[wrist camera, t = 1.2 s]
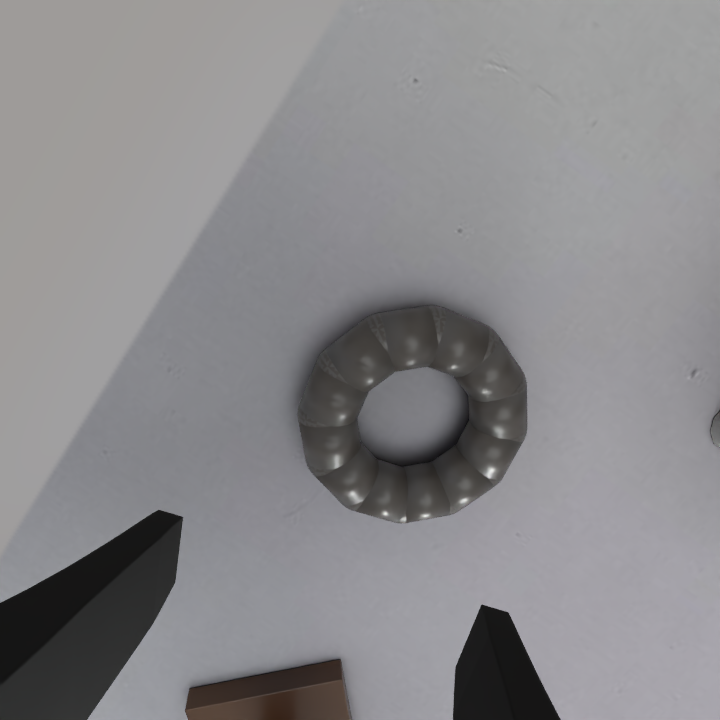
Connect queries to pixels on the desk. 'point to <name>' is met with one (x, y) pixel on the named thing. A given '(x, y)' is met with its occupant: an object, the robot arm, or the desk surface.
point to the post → (275, 696)
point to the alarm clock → (716, 430)
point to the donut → (403, 352)
